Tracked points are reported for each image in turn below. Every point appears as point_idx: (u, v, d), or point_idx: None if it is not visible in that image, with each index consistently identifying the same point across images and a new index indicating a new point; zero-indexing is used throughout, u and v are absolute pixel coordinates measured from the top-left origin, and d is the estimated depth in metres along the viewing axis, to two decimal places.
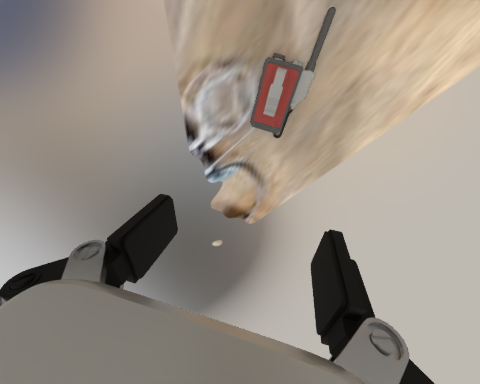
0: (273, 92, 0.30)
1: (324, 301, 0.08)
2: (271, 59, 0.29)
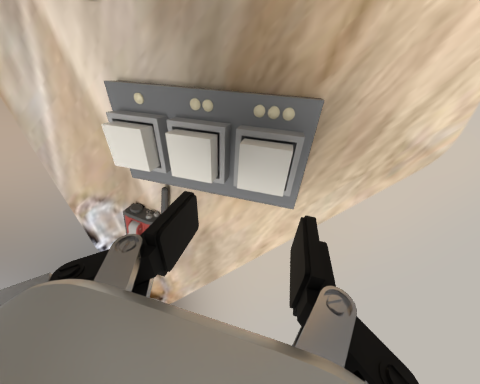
0: None
1: (296, 277, 0.09)
2: (126, 213, 0.33)
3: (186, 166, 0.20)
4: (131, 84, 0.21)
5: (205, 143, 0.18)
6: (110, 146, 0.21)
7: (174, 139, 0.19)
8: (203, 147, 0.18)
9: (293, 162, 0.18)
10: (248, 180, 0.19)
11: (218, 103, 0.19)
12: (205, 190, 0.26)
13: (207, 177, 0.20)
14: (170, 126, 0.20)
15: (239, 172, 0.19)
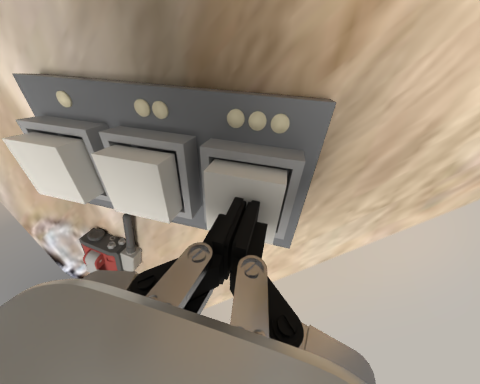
0: (91, 271, 0.27)
1: None
2: (82, 242, 0.26)
3: (131, 199, 0.13)
4: (50, 78, 0.14)
5: (151, 170, 0.12)
6: (24, 169, 0.15)
7: (106, 163, 0.12)
8: (149, 176, 0.12)
9: (288, 196, 0.12)
10: None
11: (175, 106, 0.13)
12: (173, 220, 0.20)
13: (162, 215, 0.14)
14: (106, 141, 0.13)
15: (207, 210, 0.12)
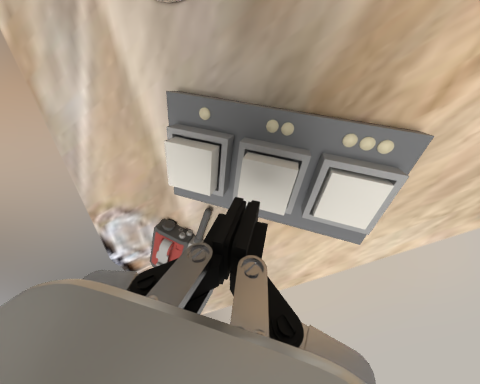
0: (160, 257, 0.31)
1: None
2: (158, 230, 0.30)
3: (258, 194, 0.18)
4: (199, 98, 0.18)
5: (290, 174, 0.16)
6: (168, 165, 0.19)
7: (252, 166, 0.16)
8: (286, 178, 0.16)
9: (385, 200, 0.16)
10: (330, 209, 0.18)
11: (301, 127, 0.17)
12: (258, 215, 0.23)
13: (280, 209, 0.18)
14: (242, 148, 0.18)
15: (321, 201, 0.17)
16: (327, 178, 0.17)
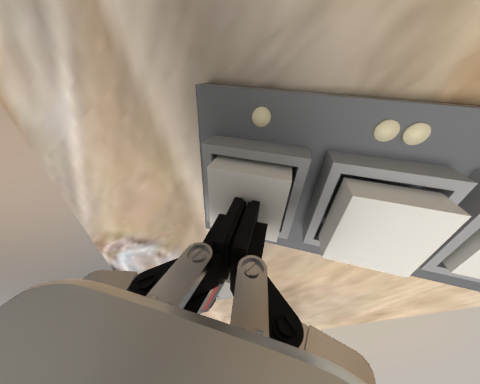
0: None
1: None
2: None
3: (367, 249, 0.10)
4: (253, 91, 0.11)
5: (450, 221, 0.08)
6: (212, 201, 0.12)
7: (369, 208, 0.09)
8: (437, 227, 0.09)
9: None
10: None
11: (444, 130, 0.10)
12: None
13: (404, 269, 0.11)
14: (336, 173, 0.10)
15: (478, 253, 0.10)
16: None
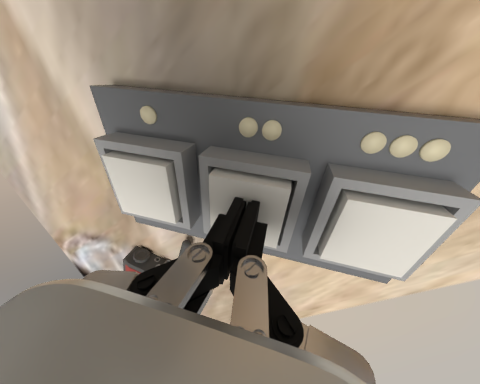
0: None
1: None
2: (127, 263, 0.24)
3: None
4: (136, 92, 0.12)
5: (280, 195, 0.10)
6: (115, 186, 0.14)
7: (223, 185, 0.11)
8: (274, 200, 0.11)
9: None
10: (345, 250, 0.11)
11: (293, 127, 0.11)
12: None
13: (270, 240, 0.13)
14: (205, 166, 0.11)
15: (331, 239, 0.11)
16: (339, 205, 0.11)
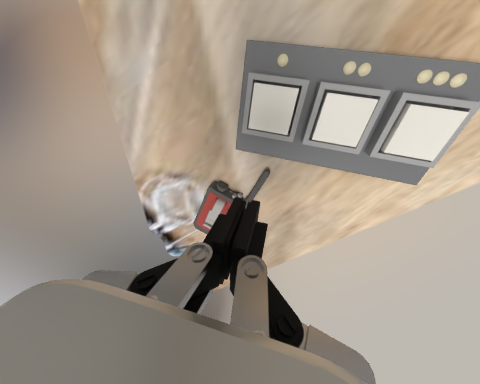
0: (211, 216, 0.33)
1: None
2: (213, 190, 0.32)
3: (335, 128, 0.20)
4: (279, 44, 0.20)
5: (370, 104, 0.18)
6: (253, 107, 0.21)
7: (335, 99, 0.19)
8: (365, 108, 0.19)
9: None
10: (401, 143, 0.20)
11: (378, 67, 0.19)
12: (319, 164, 0.25)
13: (354, 140, 0.21)
14: (322, 89, 0.19)
15: (395, 135, 0.19)
16: (402, 113, 0.19)
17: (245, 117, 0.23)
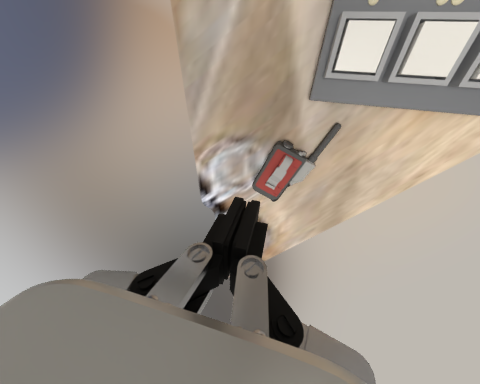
0: (277, 173, 0.35)
1: None
2: (281, 147, 0.33)
3: (427, 59, 0.22)
4: None
5: (469, 27, 0.20)
6: (343, 47, 0.23)
7: (432, 27, 0.20)
8: (463, 33, 0.20)
9: None
10: None
11: None
12: (396, 106, 0.27)
13: (446, 70, 0.22)
14: (418, 19, 0.21)
15: None
16: None
17: (331, 60, 0.24)
